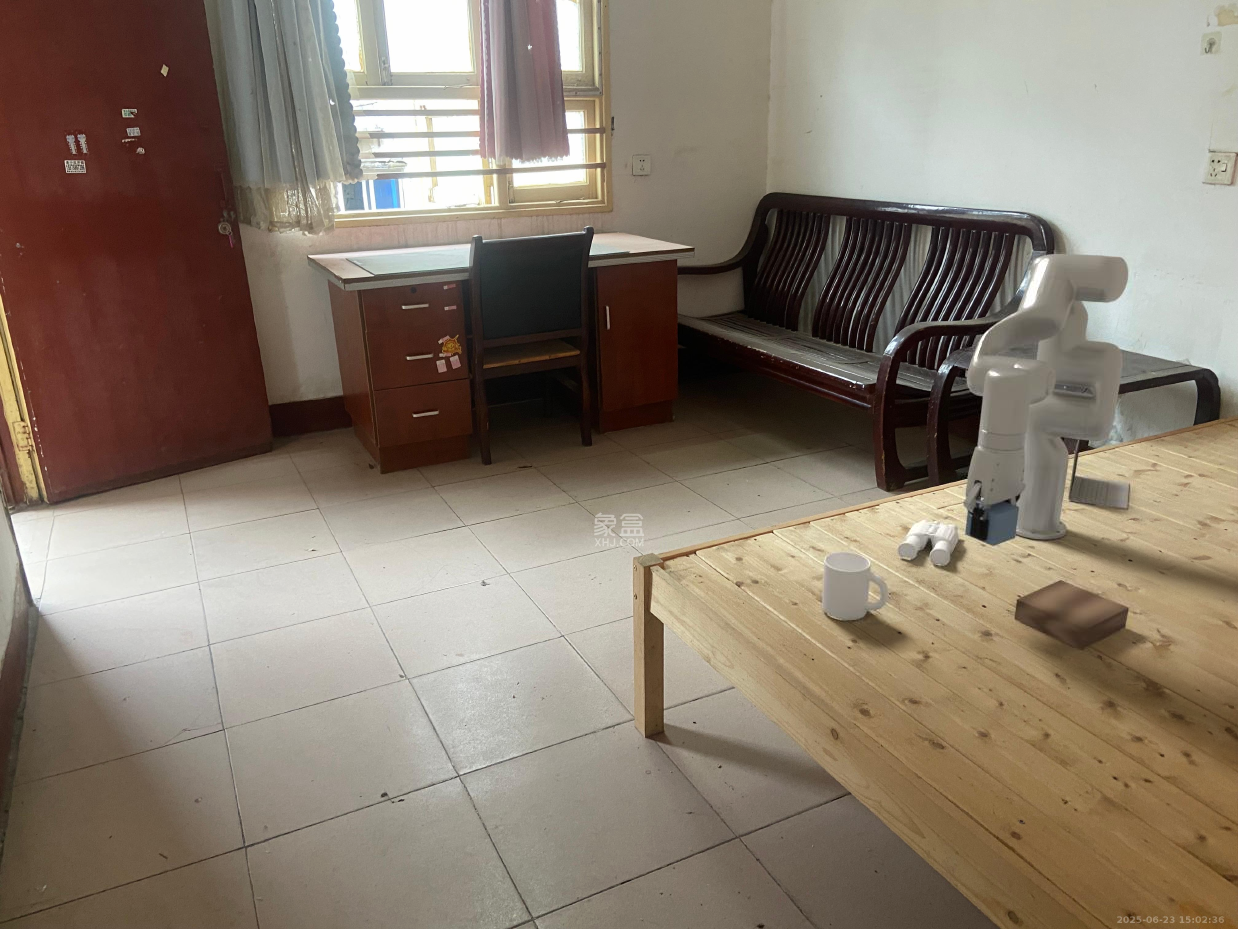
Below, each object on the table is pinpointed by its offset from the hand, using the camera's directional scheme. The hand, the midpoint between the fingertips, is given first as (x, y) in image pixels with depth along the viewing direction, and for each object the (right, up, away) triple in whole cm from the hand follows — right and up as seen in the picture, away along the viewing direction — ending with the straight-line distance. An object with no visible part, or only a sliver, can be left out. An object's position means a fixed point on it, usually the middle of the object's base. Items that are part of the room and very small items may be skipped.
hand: (990, 532), depth 163 cm
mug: (-23, -16, +5) cm, 28 cm away
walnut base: (+14, -16, -1) cm, 21 cm away
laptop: (+49, +5, +56) cm, 75 cm away
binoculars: (-1, -6, +30) cm, 31 cm away
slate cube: (0, -1, 0) cm, 1 cm away
